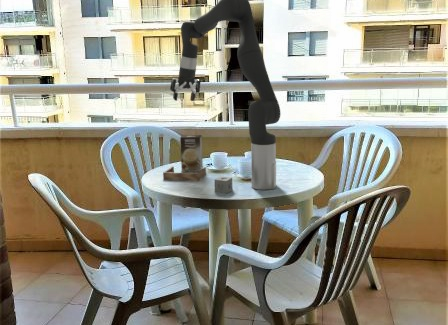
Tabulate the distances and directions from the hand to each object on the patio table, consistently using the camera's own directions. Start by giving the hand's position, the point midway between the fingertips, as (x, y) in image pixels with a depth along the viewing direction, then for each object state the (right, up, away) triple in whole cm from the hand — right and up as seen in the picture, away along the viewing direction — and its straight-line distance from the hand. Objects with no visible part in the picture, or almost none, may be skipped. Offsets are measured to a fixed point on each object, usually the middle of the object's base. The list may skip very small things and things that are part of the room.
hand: (183, 100), depth 193 cm
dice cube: (+19, -41, -41) cm, 61 cm away
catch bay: (+3, -36, -20) cm, 41 cm away
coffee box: (+5, -34, -10) cm, 36 cm away
